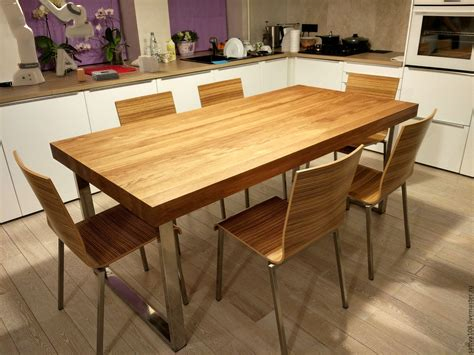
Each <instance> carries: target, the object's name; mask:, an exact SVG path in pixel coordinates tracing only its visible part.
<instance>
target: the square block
mask: <svg viewBox="0 0 474 355" xmlns="http://www.w3.org/2000/svg"><path fill="white" fill-rule="evenodd" d="M76 74H77V79H78V81H79V82H83V81H86V74H85V69H84V68H77V69H76Z"/></svg>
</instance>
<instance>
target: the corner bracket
mask: <svg viewBox="0 0 474 355" xmlns="http://www.w3.org/2000/svg"><path fill="white" fill-rule="evenodd" d="M137 58H138V64H139V72H141V73H147V72H148V73H155V72H160V64H159V61H158V60H157V59H156V58H155V57H154V56H153V55H145V54H144V55H138V56H137Z"/></svg>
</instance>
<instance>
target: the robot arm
mask: <svg viewBox="0 0 474 355" xmlns="http://www.w3.org/2000/svg"><path fill="white" fill-rule="evenodd" d="M38 2H39V3H40V4H41V5H42V6H43V7H44V8H45V9H46V10H48V11H49V13H51V15H52V16H54V17H55V19H56V20H57V21H58V22H59V23H61V24H62V25H63V24H68V23H69V22H70V21H71V20H73V25H67V27H65V36H66V38H67V39H71V42H72V43H75V39H74V38H84V42H87V41H88V40H89V38H91V37H94V36H95V31H94V28H93V24H92V23H91V22H90V21H88V20H87V18H88V17H87V10H86V8H85V7H84V6H83V5H80V4H79V5H77V4H75V3H73V2H67V3H66V4H64V5H63V6H62V7H61V8H58V7H57V6H56V5H54V4H53V3H52V2H51V0H38ZM0 8H1V10H2V12H3V14H4V17H5V18H6V20H7V21H6V22H7V23H8V26H9V28H10V31H11V33H12V36H13V37H14V38H15V40H16V43H17V49H18V50H17V51H18V55H19V59H20V63H17V66H18V70H17V71H16V72H14V73H13V75H12V81H11V82H12V85H11V86H12V87H13V86H14V87H19V86H29V85H31V86H32V85H38V84H41V83H44V82H45V81H46V80H45V78H44V76H43V74H42V71H41V64H40V62H39V61H38V60H39V59H38V56H37V51H36V50H37V49H36V43H35V37H34V36H35V35H34V32H33V30H32V28H31V27H29V26H28V25H27V24H28V23H26V22H27V21H26V19H25V14H24V12H23V11H22V8H21V6H20V4H19V1H18V0H0Z"/></svg>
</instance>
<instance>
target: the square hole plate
mask: <svg viewBox="0 0 474 355" xmlns="http://www.w3.org/2000/svg"><path fill="white" fill-rule="evenodd" d="M91 75H92V76H91V77H92V78H93V79H94V80H95V81H104V80H114V79H119V78H120V76H119V72H118V71H116V70H114V69H106V70H95V71H91Z"/></svg>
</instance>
